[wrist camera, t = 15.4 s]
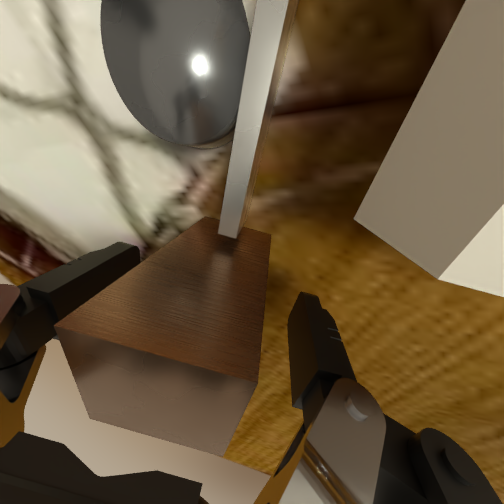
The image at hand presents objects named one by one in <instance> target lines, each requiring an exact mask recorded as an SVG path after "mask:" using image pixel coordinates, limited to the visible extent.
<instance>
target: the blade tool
mask: <svg viewBox="0 0 504 504" xmlns="http://www.w3.org/2000/svg"><path fill="white" fill-rule="evenodd" d="M298 3H299V0H257V2H256V8H255V14H254V20H253V26H252V32H251V38H250V44H249V50H248V56H247V62H246V68H245V74H244V80H243V86H242V92H241V98H240V104H239V110H238V116H237V122H236V128H235V134H234V140H233V146H232V152H231V158H230V164H229V170H228V176H227V182H226V188H225V194H224V200H223V206H222V212H221V218H220V220H217V219H213V218H209V217H206V216H205V217H204V218H203V219H201V220H200V221H198V222H197V223H196V224H194V225H193V226H191V227H190V228H189V229H187V230H186V231H184V232H183V233H182V234H180V235H179V236H178V237H176V238H175V239H173V240H172V241H171V242H169V243H168V244H166V245H165V246H164V247H162V248H161V249H159V250H158V251H157V252H155V253H154V254H152V255H151V256H150V257H148V258H147V259H145V260H144V261H143V262H141V263H140V264H139V265H137V266H136V267H134V268H133V269H132V270H130V271H129V272H127V273H126V274H125V275H123V276H122V277H120V278H119V279H118V280H116V281H115V282H113V283H112V284H111V285H109V286H108V287H106V288H105V289H104V290H102V291H101V292H99V293H98V294H97V295H95V296H94V297H93V298H91V299H90V300H88V301H87V302H86V303H84V304H83V305H81V306H80V307H79V308H77V309H76V310H74V311H73V312H72V313H70V314H69V315H67V316H66V317H65V318H63V319H62V320H60V321H59V322H58V323H56V324H55V325H54V328H55V330H56V333H57V335H58V338H59V341H60V343H61V346H62V348H63V351H64V353H65V356H66V358H67V361H68V364H69V366H70V369H71V371H72V374H73V376H74V379H75V382H76V384H77V387H78V389H79V392H80V395H81V397H82V400H83V402H84V405H85V407H86V410H87V412H88V415H89V418H90V419H93V420H96V421H100V422H103V423H107V424H110V425H114V426H117V427H121V428H124V429H128V430H131V431H135V432H138V433H142V434H145V435H149V436H152V437H156V438H159V439H162V440H166V441H169V442H173V443H177V444H180V445H184V446H187V447H191V448H194V449H197V450H201V451H204V452H208V453H211V454H215V455H218V456H222V457H223V455H224V453H225V451H226V449H227V447H228V445H229V443H230V441H231V438H232V436H233V434H234V432H235V430H236V428H237V426H238V424H239V422H240V420H241V418H242V415H243V413H244V411H245V409H246V407H247V405H248V403H249V401H250V399H251V397H252V394H253V392H254V390H255V388H256V386H257V384H258V375H259V364H260V353H261V342H262V331H263V320H264V309H265V298H266V287H267V276H268V265H269V254H270V243H271V235H270V234H267V233H263V232H260V231H256V230H252V229H249V228H245V227H243V225H244V224H245V222H246V220H247V217H248V212H249V208H250V204H251V200H252V196H253V191H254V187H255V183H256V179H257V175H258V170H259V166H260V162H261V158H262V154H263V150H264V145H265V141H266V137H267V133H268V129H269V124H270V120H271V116H272V112H273V108H274V103H275V99H276V95H277V91H278V87H279V82H280V78H281V74H282V70H283V66H284V61H285V57H286V53H287V49H288V45H289V40H290V36H291V32H292V28H293V24H294V20H295V15H296V11H297V7H298Z"/></svg>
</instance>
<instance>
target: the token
mask: <svg viewBox="0 0 504 504" xmlns="http://www.w3.org/2000/svg"><path fill="white" fill-rule="evenodd" d="M101 36H102V44H103V50H104V55H105V59H106V62H107V66H108V69H109V72H110V75H111V78H112V80H113V83H114V85H115V87H116V89H117V91H118V93H119V95H120V97H121V99H122V100H123V102H124V104H125V105H126V106H127V108H128V109H129V111H130V112H131V113H132V115H133V116H134V117H135V118H136V119H137V120H138V121H139V122H140V123H141V124H142V125H143V126H144V127H145V128H146V129H148V130H149V131H150V132H152V133H153V134H155V135H156V136H158V137H160V138H162V139H164V140H166V141H170V142H173V143H177V144H182V145H187V146H192V147H197V148H203V149H210V148H216V147H219V146H222V145H224V144H226V143H228V142H229V141H231V140H232V139H234V134H235V128H236V122H237V116H238V110H239V104H240V98H241V92H242V86H243V80H244V74H245V68H246V62H247V56H248V50H249V44H250V38H251V36H250V32H249V27H248V22H247V18H246V13H245V9H244V6H243V3H242V0H102V3H101Z"/></svg>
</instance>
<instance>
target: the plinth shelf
mask: <svg viewBox="0 0 504 504" xmlns="http://www.w3.org/2000/svg"><path fill="white" fill-rule="evenodd" d="M354 220H356V221H357V222H358V223H360V224H361V225H363V226H364V227H365V228H367V229H368V230H370V231H371V232H372V233H374V234H375V235H377V236H378V237H379V238H381V239H382V240H384V241H385V242H386V243H388V244H389V245H391V246H392V247H393V248H395V249H396V250H398V251H399V252H400V253H402V254H403V255H405V256H406V257H407V258H409V259H410V260H411V261H413V262H414V263H416V264H417V265H418V266H420V267H421V268H423V269H424V270H425V271H427V272H428V273H430V274H431V275H432V276H434V277H435V278H437V279H439V280H443V281H446V282H450V283H454V284H457V285H461V286H465V287H468V288H472V289H476V290H479V291H483V292H487V293H491V294H494V295H498V296H502V297H504V0H466V1H465V3H464V5H463V7H462V9H461V11H460V13H459V15H458V17H457V18H456V20H455V22H454V24H453V26H452V28H451V30H450V32H449V34H448V36H447V38H446V40H445V42H444V44H443V46H442V48H441V50H440V52H439V53H438V55H437V57H436V59H435V61H434V63H433V65H432V67H431V69H430V71H429V73H428V75H427V77H426V79H425V81H424V83H423V85H422V87H421V89H420V90H419V92H418V94H417V96H416V98H415V100H414V102H413V104H412V106H411V108H410V110H409V112H408V114H407V116H406V118H405V120H404V122H403V124H402V125H401V127H400V129H399V131H398V133H397V135H396V137H395V139H394V141H393V143H392V145H391V147H390V149H389V151H388V153H387V155H386V157H385V159H384V160H383V162H382V164H381V166H380V168H379V170H378V172H377V174H376V176H375V178H374V180H373V182H372V184H371V186H370V188H369V190H368V192H367V194H366V196H365V197H364V199H363V201H362V203H361V205H360V207H359V209H358V211H357V213H356V215H355V217H354Z"/></svg>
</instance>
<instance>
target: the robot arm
mask: <svg viewBox="0 0 504 504" xmlns="http://www.w3.org/2000/svg"><path fill="white" fill-rule="evenodd" d="M139 264H140V250H139V248H138V247H137V246H134V245H131V244H127V243H123V242H117V243H115V244H113V245H111V246H109V247H107V248H105V249H101V250H97V251H93V252H90V253H88V254H86V255H83V256H81V257H79V258H78V259H77V260H76V259H75V260H73V261H71V262H68V263H67V265H62V266H60V267H58V268H56V269H54V270H51V271H49V272H47V273H45V274H43V275H41V276H39V277H36V278H34V279H32V280H30V281H28V282H26V283H24V284H21V285H19V286H17V287H16V286H13V285H8V284H0V504H209V503H208V502H207V501H205V500H204V499H203V498H202V497H201V496H200V492H201V487H202V483H199V482H195V481H192V480H188V479H185V478H181V477H178V476H174V475H171V474H167V473H164V472H160V471H149V472H141V473H133V474H125V475H116V476H107V477H100V476H97V475H96V474H94V473H93V472H92V471H91V470H90V469H89V468H88V467H87V466H86V465H85V464H84V463H83V462H82V461H81V460H80V459H79V458H78V457H76V455H75V454H74V453H73V452H71V451H70V450H69V449H68V448H67V447H66V446H65V445H64V444H62V443H59V442H55V441H51V440H48V439H44V438H41V437H38V436H34V435H31V434H27V433H24V409H25V405H26V402H27V399H28V397H29V394H30V391H31V389H32V386H33V384H34V381H35V378H36V375H37V373H38V370H39V368H40V365H41V362H42V360H43V357H44V354H45V352H46V346H45V344H46V343H47V342H48V341H50V340H51V339H52V338H53V339H57V340H59V338H58V335H57V333H56V330H55V328H54V325H55V324H56V323H58V322H59V321H60V320H62V319H63V318H65V317H66V316H67V315H69V314H70V313H72V312H73V311H74V310H76V309H77V308H79V307H80V306H81V305H83V304H84V303H86V302H87V301H88V300H90V299H91V298H93V297H94V296H95V295H97V294H98V293H99V292H101V291H102V290H104V289H105V288H106V287H108V286H109V285H111V284H112V283H113V282H115V281H116V280H118V279H119V278H120V277H122V276H123V275H125V274H126V273H127V272H129V271H130V270H132V269H133V268H134V267H136V266H137V265H139ZM288 344H289V360H290V377H291V393H292V407H295V408H299V409H302V410H303V418H304V421H303V422H302V423H301V425H300V427H299V428H298V430H297V432H296V434H295V435H294V437H293V439H292V441H291V442H290V444H289V446H288V448H287V449H286V451H285V453H284V455H283V456H282V458H281V460H280V462H279V463H278V465H277V467H276V469H275V470H274V472H273V474H272V476H271V477H270V479H269V481H268V482H267V484H266V485H265V487H264V488H263V490H262V491H261V493H260V494H259V496H258V497H257V499H256V501H255V502H254V504H502V502H501V500H500V499H499V497H498V496H497V494H496V493H495V491H494V489H493V488H492V486H491V485H490V483H489V482H488V480H487V478H486V477H485V475H484V474H483V472H482V471H481V470H480V468H479V467H478V466H477V464H476V463H475V462H474V461H473V459H472V458H471V457H470V456H469V455H468V454H467V453H466V452H465V451H464V450H463V449H462V448H461V447H460V446H459V445H458V444H457V443H456V442H455V441H453V440H452V439H451V438H450V437H448V436H447V435H445V434H444V433H442V432H440V431H438V430H436V429H432V428H425V429H423V430H421V431H420V432H418V433H417V434H416V433H414V432H413V431H411V430H409V429H408V428H406V427H405V426H403V425H401V424H400V423H398V422H396V421H395V420H393V419H392V418H390V417H388V416H387V415H385V414H384V413H383V412H382V410H381V408H380V406H379V404H378V403H377V401H376V400H375V398H374V397H373V396H372V394H371V393H370V392H369V391H368V390H367V389H366V388H365V387H363V386H362V385H361V384H359V383H358V382H357V380H356V378H355V375H354V372H353V369H352V367H351V364H350V361H349V359H348V356H347V353H346V350H345V348H344V345H343V342H341V337H340V334H339V332H338V328H337V326H336V323H335V320H334V319H333V317H332V316H331V315H330V313H329V312H328V311H327V310H326V309H322V307H321V304H320V301H319V298H318V296H316V295H312V294H308V293H305V292H300V294H299V296H298V298H297V300H296V302H295V304H294V306H293V309H292V311H291V313H290V315H289V319H288Z"/></svg>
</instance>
